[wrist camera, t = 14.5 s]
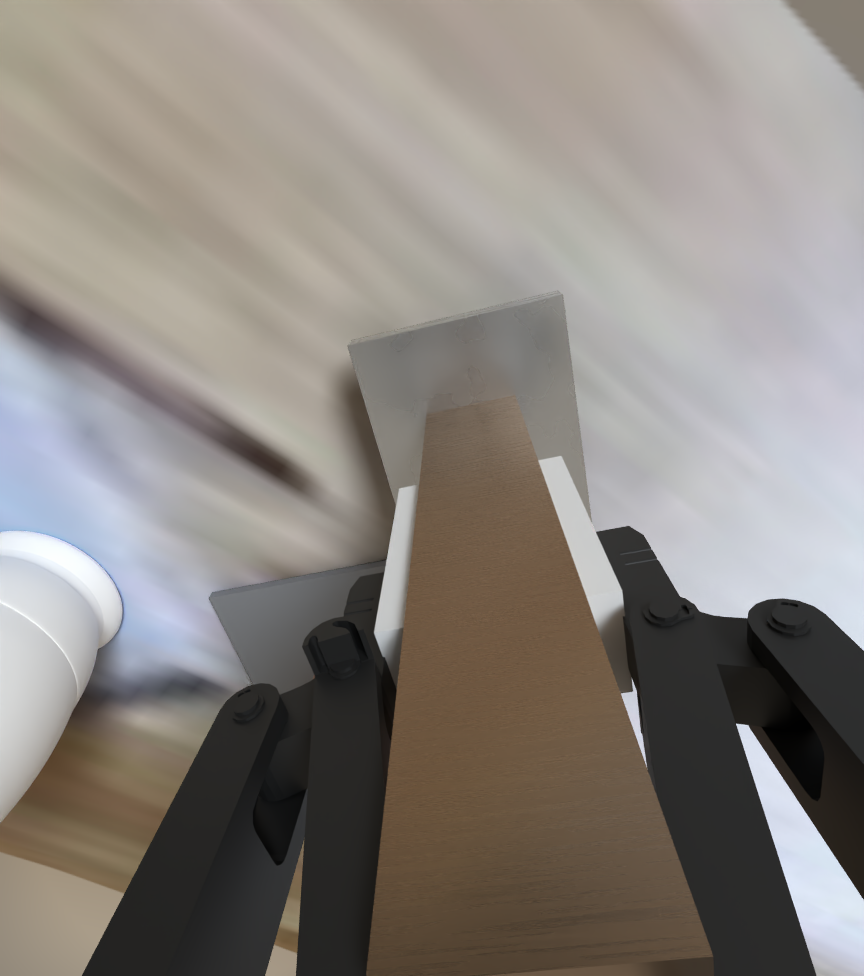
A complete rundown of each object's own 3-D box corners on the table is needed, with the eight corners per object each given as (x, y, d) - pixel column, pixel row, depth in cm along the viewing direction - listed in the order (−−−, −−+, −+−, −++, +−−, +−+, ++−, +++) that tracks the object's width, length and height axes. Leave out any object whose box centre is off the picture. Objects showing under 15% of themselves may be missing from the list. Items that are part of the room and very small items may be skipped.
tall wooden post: (351, 340, 22) (-1, 819, 5) (557, 290, 21) (1063, 675, 4) (414, 552, 26) (349, 1201, 9) (587, 519, 25) (883, 1183, 8)
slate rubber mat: (212, 592, 31) (208, 598, 30) (519, 535, 28) (521, 540, 28) (326, 816, 39) (324, 823, 39) (568, 785, 37) (570, 792, 37)
